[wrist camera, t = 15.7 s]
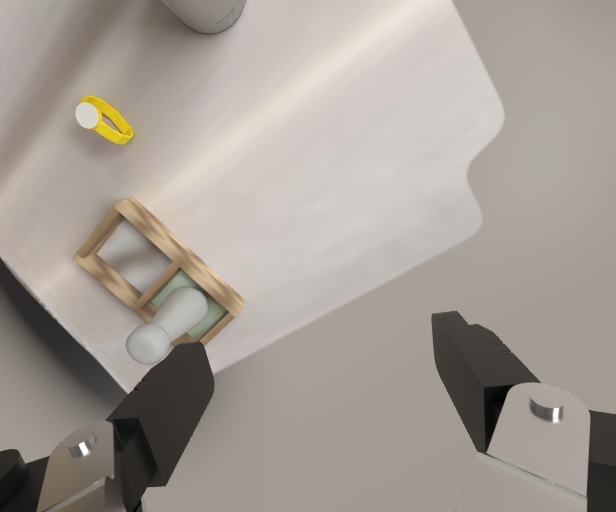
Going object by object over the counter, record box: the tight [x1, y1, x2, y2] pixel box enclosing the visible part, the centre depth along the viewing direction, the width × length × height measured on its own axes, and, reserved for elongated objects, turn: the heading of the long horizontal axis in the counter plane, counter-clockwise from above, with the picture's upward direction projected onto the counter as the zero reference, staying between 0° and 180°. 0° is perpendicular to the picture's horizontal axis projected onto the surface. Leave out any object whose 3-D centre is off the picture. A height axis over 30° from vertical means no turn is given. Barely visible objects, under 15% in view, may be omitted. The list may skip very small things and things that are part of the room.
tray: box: [73, 198, 246, 346], centre depth 44 cm, size 21×11×4 cm, turn 45°
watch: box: [75, 95, 134, 145], centre depth 38 cm, size 6×3×6 cm, turn 38°
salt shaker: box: [126, 287, 208, 365], centre depth 39 cm, size 6×6×13 cm
